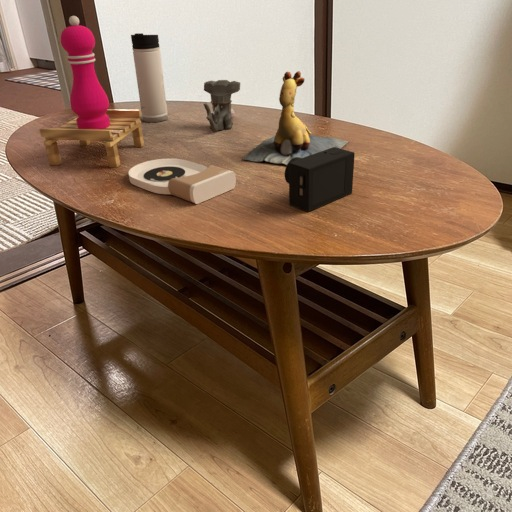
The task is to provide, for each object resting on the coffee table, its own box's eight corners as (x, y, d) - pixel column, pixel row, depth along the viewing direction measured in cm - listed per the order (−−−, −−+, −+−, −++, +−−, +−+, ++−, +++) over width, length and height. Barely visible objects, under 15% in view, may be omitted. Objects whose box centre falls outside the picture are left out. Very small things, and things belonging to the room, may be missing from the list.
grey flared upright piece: (266, 122, 122) (265, 78, 117) (207, 140, 112) (203, 92, 107) (225, 112, 131) (223, 71, 126) (168, 128, 121) (162, 84, 116)
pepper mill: (68, 127, 102) (45, 16, 93) (101, 119, 107) (81, 13, 97) (86, 134, 98) (63, 18, 88) (119, 125, 102) (101, 14, 92)
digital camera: (327, 184, 87) (328, 144, 84) (352, 193, 84) (355, 151, 80) (283, 202, 82) (282, 160, 78) (308, 212, 78) (309, 168, 74)
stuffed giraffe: (241, 159, 99) (242, 72, 91) (278, 136, 114) (281, 59, 106) (321, 172, 93) (328, 81, 86) (348, 146, 108) (357, 66, 100)
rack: (48, 166, 100) (39, 129, 96) (85, 142, 113) (78, 108, 109) (115, 168, 98) (109, 130, 94) (145, 144, 110) (140, 109, 107)
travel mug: (137, 122, 126) (124, 33, 116) (148, 115, 131) (137, 30, 121) (161, 123, 124) (150, 33, 114) (171, 116, 130) (162, 30, 120)
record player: (186, 189, 79) (114, 163, 92) (188, 207, 81) (117, 179, 93) (240, 168, 86) (166, 146, 99) (241, 185, 88) (168, 162, 100)
